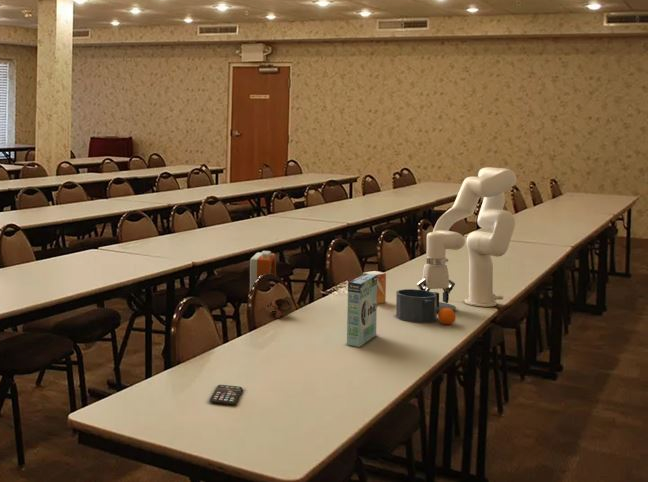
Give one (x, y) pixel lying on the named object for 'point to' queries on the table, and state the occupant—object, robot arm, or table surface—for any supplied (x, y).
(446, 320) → the ball
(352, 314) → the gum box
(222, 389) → the black calculator
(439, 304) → the lid
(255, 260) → the alarm clock
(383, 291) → the small box
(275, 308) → the orange grey twisted loop
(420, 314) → the pot
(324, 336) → the table surface
